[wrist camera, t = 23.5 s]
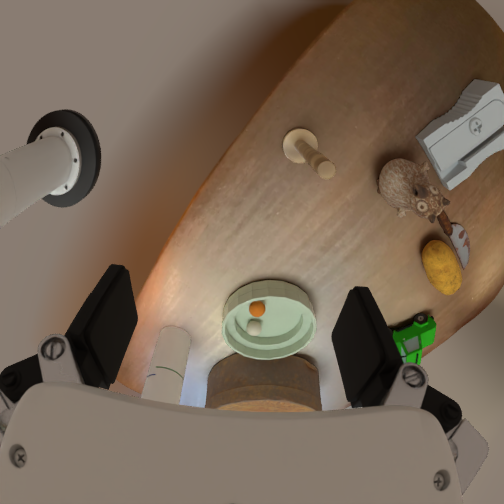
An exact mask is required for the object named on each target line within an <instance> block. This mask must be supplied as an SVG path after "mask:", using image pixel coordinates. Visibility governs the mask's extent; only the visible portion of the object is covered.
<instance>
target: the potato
mask: <svg viewBox="0 0 504 504" xmlns="http://www.w3.org/2000/svg"><path fill="white" fill-rule="evenodd" d="M422 262H423V265H424V268H425V271H426V274H427V277H428V279H429V281H430V283H431V284H432V285H433V286H434V287H435V288H436V289H437V290H439V291H440V292H441V293H443V294H445V295H450V294H453V293H455V292H456V291H457V290H458V289H459V288H460V285H461V282H462V276H461V271H460V267H459V265H458V262H457V259H456V257H455V255H454V253H453V251H452V250H451V248H450V247H449V246H448V245H446V244H445V243H444V242H442V241H440V240H432V241H430V242H429V243H427V245H426V246H425V247H424V249H423V252H422Z"/></svg>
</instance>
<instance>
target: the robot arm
mask: <svg viewBox="0 0 504 504" xmlns="http://www.w3.org/2000/svg"><path fill="white" fill-rule="evenodd" d="M81 167H82V156H81V150H80V147H79V144H78V142H77V140H76V138H75V137H74V136H73V134H72V133H71V132H70V131H68V130H67V129H65V128H63V127H51V128H48V129H46V130H44V131H43V132H42V133H41V134H40V135H39V136H38V137H37V139H36V141H35V142H33V143H30V144H27V145H24V146H22V147H19V148H17V149H14V150H12V151H9V152H7V153H5V154H2V155H0V228H1V227H3V226H4V225H5V224H6V223H8V222H9V221H10V220H12V219H13V218H14V217H16V216H17V215H18V214H20V213H21V212H23V211H24V210H25V209H27V208H28V207H29V206H31V205H32V204H34V203H35V202H37V201H38V200H40V199H41V198H43V197H44V196H46V195H47V194H49V193H50V194H52V195H61V194H64V193H66V192H68V191H69V190H70V189H72V188H73V187H74V185H75V184H76V183H77V181H78V179H79V176H80V172H81ZM137 321H138V315H137V310H136V306H135V301H134V296H133V291H132V286H131V281H130V275H129V271H128V270H127V269H125V267H124V266H123V265H115V264H111V265H110V266H109V268H108V269H107V270H106V272H105V273H104V275H103V276H102V278H101V279H100V281H99V282H98V284H97V285H96V287H95V288H94V290H93V291H92V293H90V295H89V296H88V298H87V299H86V301H85V302H84V304H83V306H82V307H81V309H80V310H79V312H78V313H77V315H76V317H75V318H74V320H73V322H72V323H71V325H70V327H69V329H68V330H67V332H66V334H65V335H64V336H63V335H61V334H52V335H49V336H47V337H45V338H44V339H43V340H42V341H41V343H40V344H39V346H38V354H36V355H34V356H32V357H29V358H27V359H25V360H22V361H20V362H17V363H15V364H13V365H11V366H8V367H6V368H5V369H4V370H3V371H2V372H1V374H0V504H463V499H462V495H463V493H464V492H465V490H466V489H467V488H468V486H469V485H470V483H471V482H472V480H473V478H474V477H475V475H476V474H477V472H478V470H479V469H480V467H481V466H482V464H483V462H484V461H485V459H486V457H487V455H488V450H489V447H488V443H487V442H486V440H485V439H484V438H483V437H482V436H481V435H480V433H479V432H478V431H477V430H476V429H475V428H474V427H473V426H472V425H471V424H470V423H469V422H468V421H467V420H466V419H463V420H462V411H461V408H460V406H459V405H458V404H457V403H456V402H455V401H454V400H452V399H451V398H449V397H447V396H446V395H444V394H442V393H441V392H439V391H437V390H436V389H434V388H432V387H431V386H429V385H428V375H427V373H426V371H425V370H424V369H423V368H422V367H421V366H420V365H418V364H416V363H413V362H407V363H403V361H402V357H401V355H400V352H399V350H398V348H397V346H396V343H395V341H394V339H393V337H392V335H391V332H390V330H389V328H388V326H387V324H386V322H385V320H384V318H383V316H382V314H381V312H380V310H379V308H378V306H377V304H376V302H375V300H374V298H373V296H372V294H371V292H370V290H369V288H368V287H359V286H356V287H354V288H353V290H352V289H351V290H350V291H349V293H348V296H347V298H346V301H345V303H344V306H343V308H342V311H341V313H340V315H339V318H338V320H337V322H336V325H335V327H334V329H333V332H332V342H333V346H334V350H335V354H336V357H337V361H338V365H339V369H340V373H341V377H342V381H343V385H344V389H345V394H346V398H347V400H348V402H351V406H352V408H354V409H343V410H329V411H313V412H249V411H232V410H219V409H209V408H200V407H192V406H185V405H178V404H171V403H165V402H159V401H154V400H149V399H144V398H139V397H135V396H129V395H125V394H121V393H117V392H112V391H108V390H104V389H109V387H110V384H111V383H112V384H113V383H114V382H115V380H116V377H117V374H118V371H119V368H120V366H121V363H122V360H123V358H124V355H125V352H126V350H127V347H128V345H129V342H130V339H131V337H132V334H133V332H134V329H135V327H136V325H137ZM99 387H101V388H104V389H101V388H99ZM357 407H363V408H357Z"/></svg>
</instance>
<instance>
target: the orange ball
mask: <svg viewBox="0 0 504 504" xmlns="http://www.w3.org/2000/svg"><path fill="white" fill-rule="evenodd" d="M249 312H250V314H251V315H252V316H254V317H260V316H262V315H263V314H264V313H265V305H264V304H263V303H262V302H261V301H254V302H252V303H251V304H250V306H249Z"/></svg>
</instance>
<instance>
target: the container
mask: <svg viewBox="0 0 504 504" xmlns="http://www.w3.org/2000/svg"><path fill="white" fill-rule="evenodd" d="M205 408H209V409H219V410H232V411H249V412H313V411H322V404H321V398H320V387H319V375H318V370H317V368H316V367H315V366H314V365H312V364H310V363H309V362H308V361H307V360H305V359H303V358H300V357H296V356H292V355H290V356H287V357H284V358H280V359H273V360H260V359H253V358H249V357H245V356H243V355H241V354H239V353H236V354H234V355H232V356H229V357H227V358H225V359H224V360H222V361H220V362H219V363H218V364H216V365H215V366H214V368H213V369H212V371H211V372H210V374H209V377H208V384H207V396H206V405H205Z"/></svg>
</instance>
